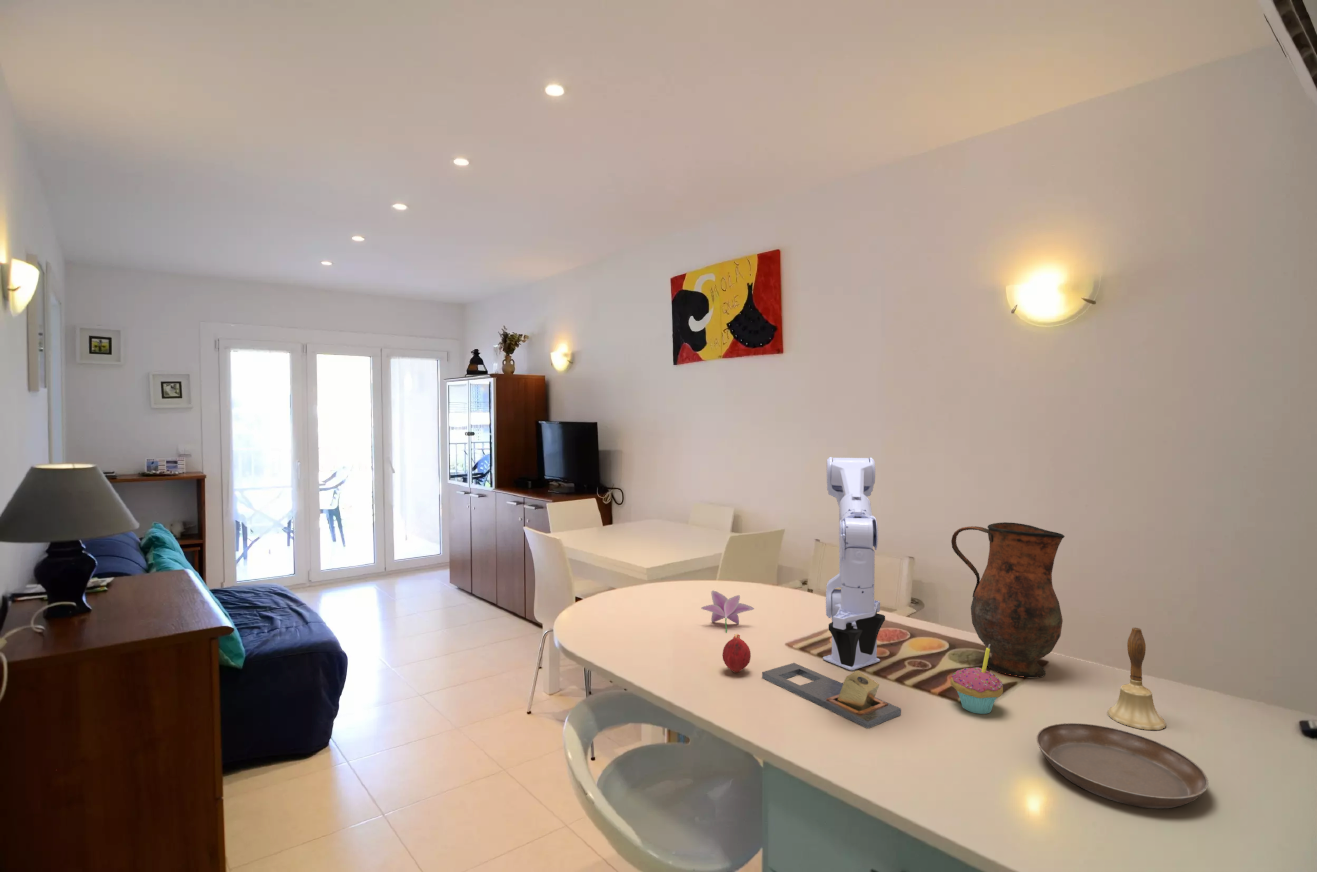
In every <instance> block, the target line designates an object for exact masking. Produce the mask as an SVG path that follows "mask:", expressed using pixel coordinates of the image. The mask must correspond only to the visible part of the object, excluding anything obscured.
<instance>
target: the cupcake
mask: <svg viewBox="0 0 1317 872" xmlns="http://www.w3.org/2000/svg"><path fill="white" fill-rule="evenodd" d="M989 647H990V644H989V646H988V648H987V647H986V648H985V653H984V657H983V662H982V667H975V666H973V667H969V668H968V667H965V668H961V669H958V670H956V671H955V672H953V673H952V674H951V677H950V680H949V681H950V685H951V686H952V688H954V689H955V691H957V695H958V696H959V700H960V704H961V707H962V708H963V709H964V710H966V711H968V712H970V713H972V714H973V713H974V714H978V715H979V714H980V715H987V714H989V713H991V712H992V710H993V706H994V704H995V701H996V700H997V698H999V697H1001V696H1002V695H1003V693H1004V684H1003V681H1002V680H1001V679H1000V678H998V676H997V675H995V674H994V673H993V672H991V671H988V670H987V668H988V667H987V663H988V658H989V657H990V653H991V652H990V649H989Z"/></svg>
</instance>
